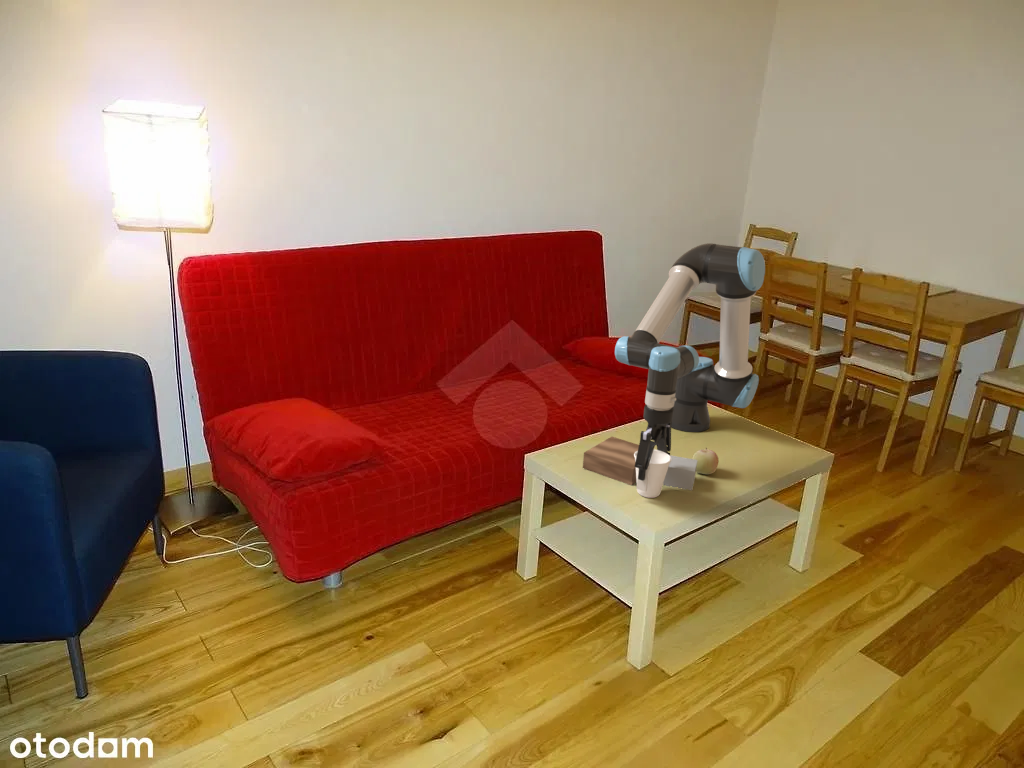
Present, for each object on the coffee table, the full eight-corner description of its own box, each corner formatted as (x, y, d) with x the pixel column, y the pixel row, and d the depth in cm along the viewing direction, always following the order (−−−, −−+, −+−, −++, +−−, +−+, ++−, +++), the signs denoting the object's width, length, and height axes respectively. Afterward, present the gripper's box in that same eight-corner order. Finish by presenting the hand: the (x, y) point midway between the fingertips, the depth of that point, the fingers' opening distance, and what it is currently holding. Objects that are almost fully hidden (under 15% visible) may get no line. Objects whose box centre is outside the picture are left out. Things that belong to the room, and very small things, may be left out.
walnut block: (610, 451, 220) (611, 436, 218) (657, 466, 211) (659, 451, 209) (582, 468, 208) (583, 452, 206) (631, 485, 199) (633, 469, 197)
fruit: (709, 480, 204) (713, 454, 201) (686, 472, 208) (689, 447, 206) (721, 472, 209) (725, 447, 206) (699, 464, 214) (702, 439, 211)
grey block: (666, 473, 207) (669, 455, 205) (694, 479, 204) (697, 459, 203) (662, 485, 200) (665, 466, 198) (692, 491, 197) (694, 471, 195)
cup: (622, 490, 196) (626, 453, 192) (648, 481, 201) (652, 446, 198) (648, 505, 188) (653, 467, 185) (674, 496, 194) (679, 459, 190)
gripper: (653, 421, 176) (643, 502, 183) (690, 398, 192) (680, 474, 200) (626, 413, 180) (618, 493, 187) (664, 392, 197) (656, 466, 204)
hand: (650, 483), depth 193 cm, fingers closed on cup, 9 cm apart
